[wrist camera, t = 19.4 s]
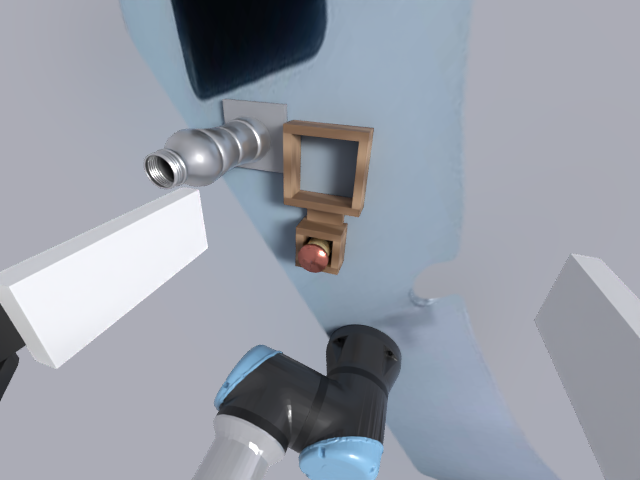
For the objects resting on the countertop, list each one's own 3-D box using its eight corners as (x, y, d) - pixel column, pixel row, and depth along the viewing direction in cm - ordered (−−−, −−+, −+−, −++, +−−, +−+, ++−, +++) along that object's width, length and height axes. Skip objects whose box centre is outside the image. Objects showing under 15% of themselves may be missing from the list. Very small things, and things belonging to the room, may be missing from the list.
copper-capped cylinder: (336, 254, 53) (326, 275, 47) (310, 249, 54) (297, 269, 48) (338, 230, 50) (328, 249, 45) (311, 225, 51) (298, 243, 46)
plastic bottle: (267, 165, 48) (183, 214, 31) (231, 144, 48) (128, 182, 31) (281, 128, 44) (195, 160, 28) (242, 105, 45) (132, 124, 28)
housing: (356, 263, 53) (350, 277, 49) (292, 250, 56) (283, 263, 52) (373, 128, 42) (368, 133, 38) (293, 120, 44) (281, 124, 41)
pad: (287, 171, 49) (284, 173, 48) (232, 163, 51) (229, 165, 50) (287, 104, 44) (284, 104, 43) (226, 98, 46) (222, 99, 45)
